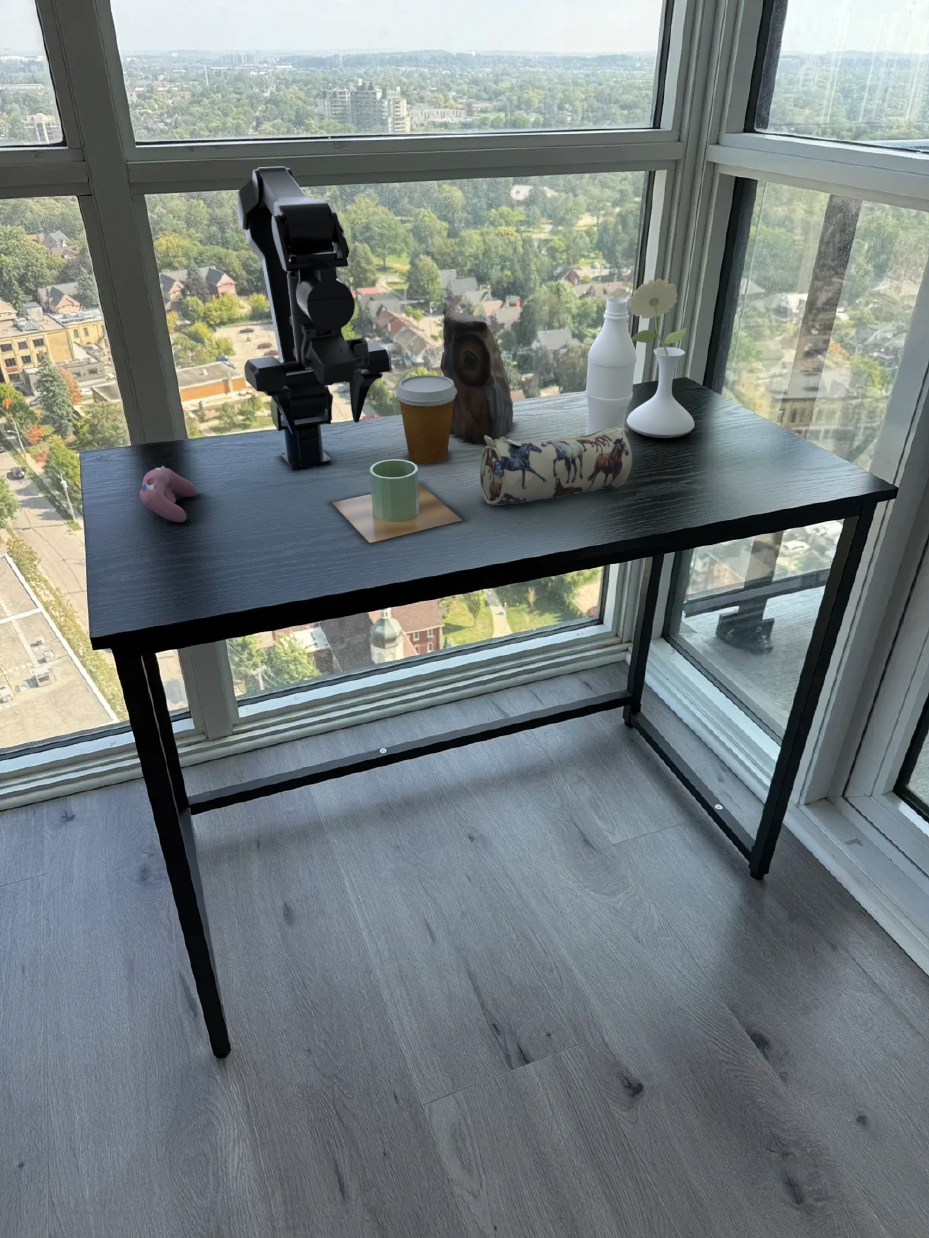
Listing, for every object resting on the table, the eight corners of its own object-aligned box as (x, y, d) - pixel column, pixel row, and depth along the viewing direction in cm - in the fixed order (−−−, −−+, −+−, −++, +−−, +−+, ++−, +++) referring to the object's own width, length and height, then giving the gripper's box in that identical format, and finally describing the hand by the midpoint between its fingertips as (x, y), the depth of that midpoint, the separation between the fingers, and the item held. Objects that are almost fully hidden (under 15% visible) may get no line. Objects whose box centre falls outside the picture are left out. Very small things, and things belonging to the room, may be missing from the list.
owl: (496, 450, 142) (498, 326, 131) (424, 441, 145) (420, 319, 134) (516, 423, 152) (520, 306, 141) (448, 416, 155) (447, 300, 144)
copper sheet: (332, 503, 125) (332, 502, 125) (418, 484, 131) (418, 483, 131) (369, 543, 115) (369, 542, 115) (462, 520, 120) (462, 520, 120)
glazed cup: (365, 507, 124) (362, 465, 120) (407, 497, 127) (405, 456, 123) (384, 525, 119) (381, 482, 116) (426, 515, 122) (425, 472, 118)
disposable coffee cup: (450, 470, 135) (449, 395, 128) (391, 465, 137) (387, 391, 130) (462, 447, 143) (462, 375, 136) (407, 443, 144) (404, 372, 138)
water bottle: (574, 468, 135) (586, 303, 122) (586, 452, 141) (599, 292, 127) (619, 475, 133) (636, 308, 119) (629, 458, 139) (647, 297, 125)
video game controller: (175, 504, 129) (144, 466, 125) (200, 490, 128) (170, 451, 124) (161, 535, 120) (128, 495, 117) (188, 521, 119) (156, 480, 116)
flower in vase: (693, 423, 152) (715, 273, 138) (692, 447, 143) (716, 289, 129) (618, 417, 154) (633, 269, 141) (613, 440, 145) (628, 285, 131)
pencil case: (494, 516, 121) (495, 451, 116) (475, 492, 128) (475, 429, 123) (634, 496, 127) (641, 433, 122) (609, 474, 134) (615, 413, 128)
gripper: (261, 335, 101) (277, 460, 109) (406, 316, 108) (411, 434, 117) (235, 314, 109) (252, 432, 118) (371, 297, 116) (378, 409, 125)
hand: (325, 427), depth 119 cm, fingers open, 9 cm apart
